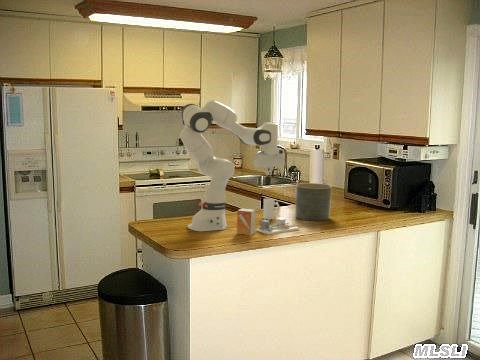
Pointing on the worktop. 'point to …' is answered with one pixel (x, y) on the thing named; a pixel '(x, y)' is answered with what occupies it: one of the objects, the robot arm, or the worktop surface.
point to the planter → (313, 201)
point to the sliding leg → (281, 222)
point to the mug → (269, 209)
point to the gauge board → (275, 228)
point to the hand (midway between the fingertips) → (268, 174)
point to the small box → (246, 221)
